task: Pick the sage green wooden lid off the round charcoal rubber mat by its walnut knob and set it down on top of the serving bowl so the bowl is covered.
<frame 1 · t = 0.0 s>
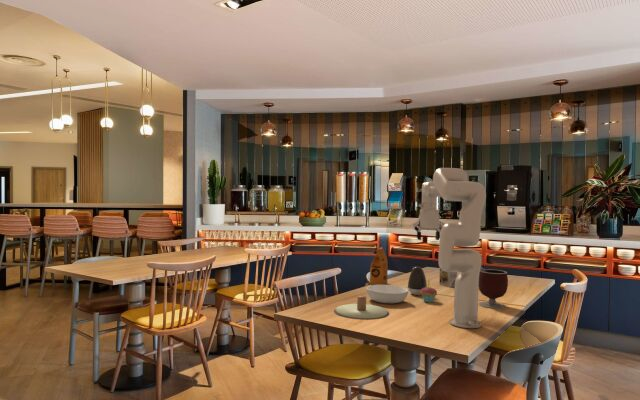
hand: (428, 239, 237), 31 cm above the table, tool pointing down, fingers open, 9 cm apart
serving bowl: (386, 302, 232), on the table
mate gourd: (490, 306, 229), on the table
coffee box: (448, 285, 280), on the table
coffee package: (378, 284, 278), on the table
smart speaker: (416, 294, 253), on the table
mat: (361, 313, 208), on the table
lid: (361, 312, 208), point 1 cm above the table, touching mat
cupcake: (428, 301, 236), on the table
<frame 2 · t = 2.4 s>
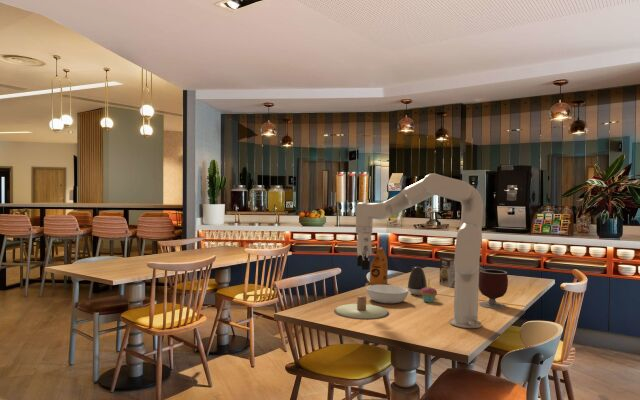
hand: (362, 267, 208), 21 cm above the table, tool pointing down, fingers open, 9 cm apart
nothing on the table moved.
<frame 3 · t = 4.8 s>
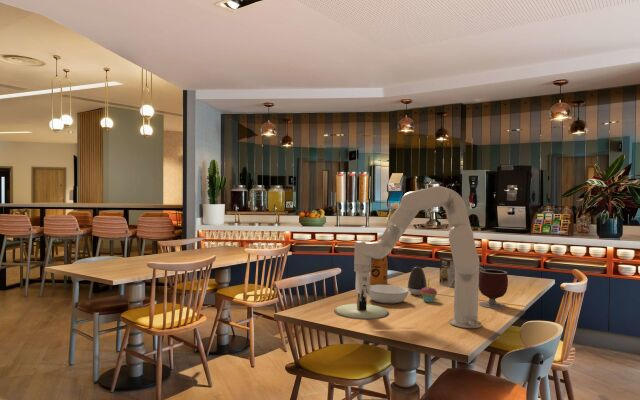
hand: (361, 308, 208), 2 cm above the table, tool pointing down, fingers closed on lid, 4 cm apart
lid: (361, 312, 208), point 1 cm above the table, touching gripper, mat
everything else where it was.
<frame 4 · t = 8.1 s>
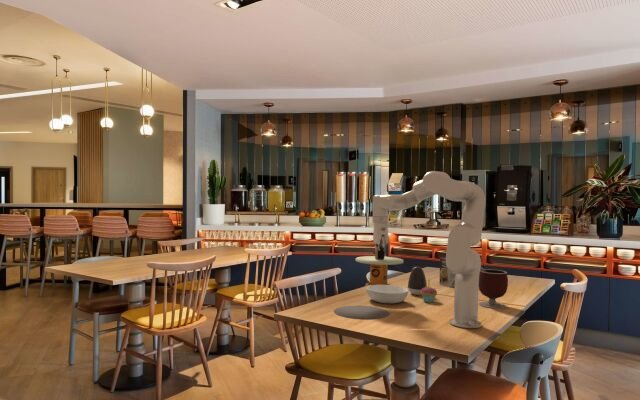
hand: (379, 257, 223), 23 cm above the table, tool pointing down, fingers closed on lid, 4 cm apart
lid: (379, 261, 223), point 22 cm above the table, touching gripper
everything else where it was.
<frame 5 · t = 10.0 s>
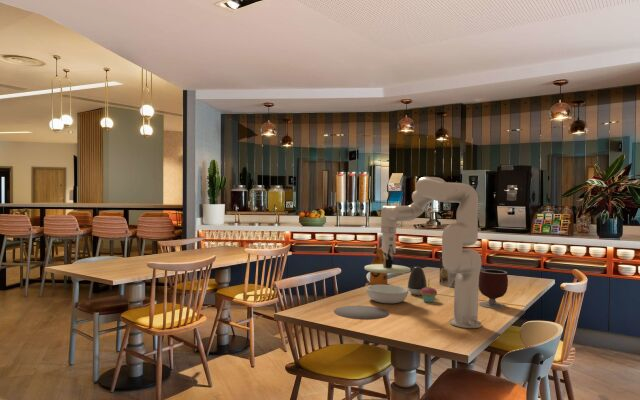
hand: (387, 266, 232), 18 cm above the table, tool pointing down, fingers closed on lid, 4 cm apart
lid: (387, 269, 232), point 16 cm above the table, touching gripper
everything else where it was.
when the fingers open (10 cm above the table, at t = 11.6 s): lid drops 2 cm, resting on serving bowl.
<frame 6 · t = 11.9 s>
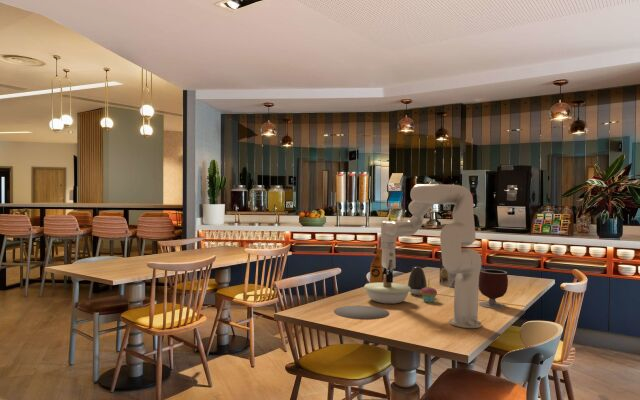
hand: (387, 280, 232), 11 cm above the table, tool pointing down, fingers open, 6 cm apart
serving bowl: (386, 302, 232), on the table, touching lid
lid: (387, 288, 232), point 7 cm above the table, touching serving bowl
everything else where it was.
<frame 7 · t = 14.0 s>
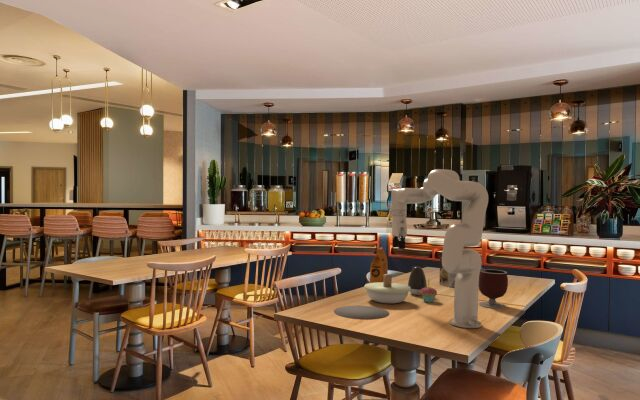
hand: (398, 248, 229), 27 cm above the table, tool pointing down, fingers open, 9 cm apart
nothing on the table moved.
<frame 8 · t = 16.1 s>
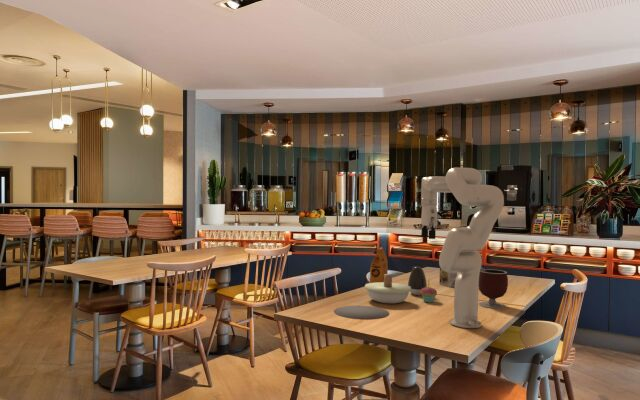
hand: (428, 237, 224), 33 cm above the table, tool pointing down, fingers open, 9 cm apart
nothing on the table moved.
at the end: lid 0.0 cm off-centre on the serving bowl, point 7.0 cm above the serving bowl's base; lid tilted 0°; the gripper is holding nothing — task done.
